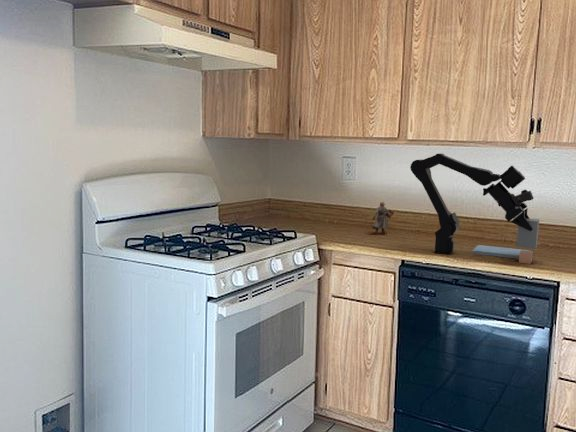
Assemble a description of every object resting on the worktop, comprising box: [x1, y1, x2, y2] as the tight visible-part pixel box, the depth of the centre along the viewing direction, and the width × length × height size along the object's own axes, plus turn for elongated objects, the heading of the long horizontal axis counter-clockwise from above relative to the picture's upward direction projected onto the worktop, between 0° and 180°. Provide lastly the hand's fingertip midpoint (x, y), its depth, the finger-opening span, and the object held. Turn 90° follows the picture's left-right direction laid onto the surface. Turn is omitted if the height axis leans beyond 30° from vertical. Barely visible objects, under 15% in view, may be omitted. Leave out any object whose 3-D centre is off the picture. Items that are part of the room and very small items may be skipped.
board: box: [471, 244, 531, 260], centre depth 222 cm, size 20×14×1 cm
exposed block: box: [518, 249, 534, 265], centre depth 206 cm, size 4×4×4 cm
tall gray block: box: [516, 218, 540, 250], centre depth 205 cm, size 6×6×10 cm
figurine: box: [370, 201, 395, 235], centre depth 260 cm, size 14×7×15 cm, turn 111°
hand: (532, 229), depth 204 cm, fingers closed on tall gray block, 6 cm apart
